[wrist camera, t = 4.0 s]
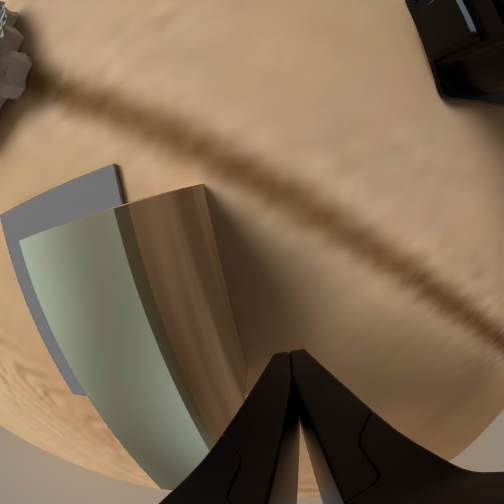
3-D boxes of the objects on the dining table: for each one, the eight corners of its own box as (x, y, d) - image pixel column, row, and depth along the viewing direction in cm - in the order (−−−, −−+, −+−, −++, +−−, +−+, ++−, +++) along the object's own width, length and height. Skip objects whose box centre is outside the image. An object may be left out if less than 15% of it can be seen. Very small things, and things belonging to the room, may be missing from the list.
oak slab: (203, 183, 12) (113, 208, 5) (247, 367, 15) (236, 494, 7) (143, 198, 13) (18, 240, 5) (196, 372, 15) (161, 488, 8)
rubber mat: (116, 163, 12) (113, 163, 12) (190, 397, 16) (189, 400, 16) (2, 214, 13) (-1, 215, 13) (75, 391, 17) (73, 394, 16)
